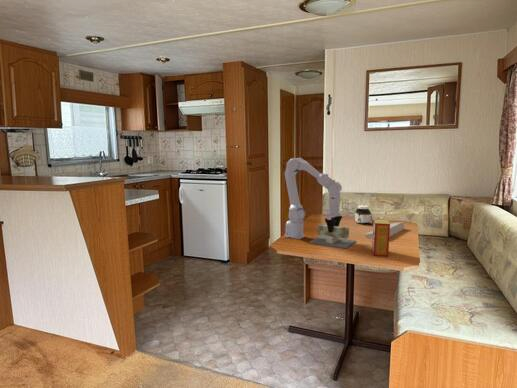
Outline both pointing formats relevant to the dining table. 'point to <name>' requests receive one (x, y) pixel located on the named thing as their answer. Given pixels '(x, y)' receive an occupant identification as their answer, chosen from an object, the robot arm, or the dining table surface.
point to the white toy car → (363, 215)
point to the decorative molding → (393, 229)
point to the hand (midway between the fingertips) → (333, 230)
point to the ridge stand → (333, 241)
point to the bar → (337, 231)
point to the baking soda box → (380, 237)
